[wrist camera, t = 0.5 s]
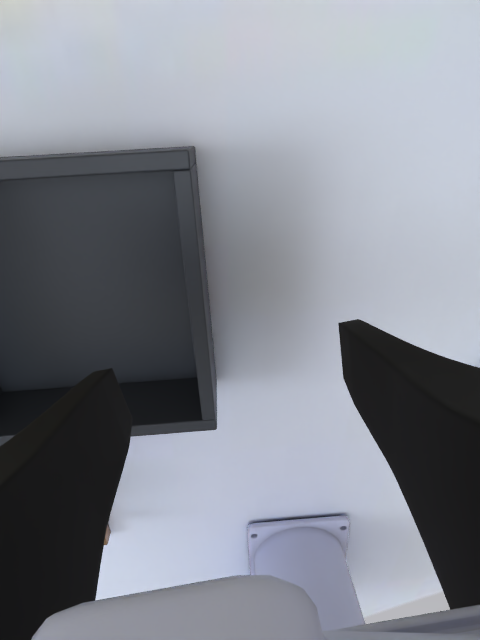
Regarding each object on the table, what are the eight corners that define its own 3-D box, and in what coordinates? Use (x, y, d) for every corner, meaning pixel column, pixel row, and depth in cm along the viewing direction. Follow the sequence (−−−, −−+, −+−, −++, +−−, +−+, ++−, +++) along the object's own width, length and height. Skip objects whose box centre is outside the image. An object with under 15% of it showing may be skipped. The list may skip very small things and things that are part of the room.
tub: (216, 380, 24) (216, 430, 20) (-1, 396, 24) (-45, 451, 20) (194, 146, 18) (188, 149, 14) (-95, 162, 18) (-186, 170, 14)
